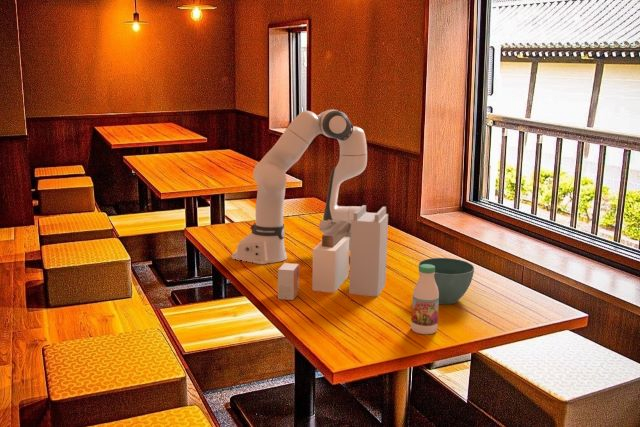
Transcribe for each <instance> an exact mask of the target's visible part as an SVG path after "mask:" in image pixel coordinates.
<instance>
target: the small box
mask: <svg viewBox="0 0 640 427" xmlns="http://www.w3.org/2000/svg"><path fill="white" fill-rule="evenodd" d="M299 277H300V264H299V263H289V262H283V263H282V265H281V266H280V267H279V268H278V269H277V300H288V301H294V300H295V298H296V297H297V296H298V294H299V293H300V290H299V289H300V279H299Z"/></svg>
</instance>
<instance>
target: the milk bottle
mask: <svg viewBox="0 0 640 427" xmlns="http://www.w3.org/2000/svg"><path fill="white" fill-rule="evenodd" d="M419 273H420V275H419V276H418V280H417V282H416V283H415V285H414V287H413V292H412V302H411V303H412V305H411V320H410V327H411V330H412V331H413V332H414V333H417V334H421V335H431V334H432V335H433V334H434V333H436V332H437V331H438V325H439V324H438V323H439V322H438V320H439V291H438V287H437V285H436V282H435V279H434V274H435V266H434V265H430V264H422V265H420V267H419V266H418V274H419Z"/></svg>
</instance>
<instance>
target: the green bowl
mask: <svg viewBox="0 0 640 427" xmlns="http://www.w3.org/2000/svg"><path fill="white" fill-rule="evenodd" d="M422 264H430V265H434V266H435V274H434V279H435V282H436V285H437V287H438V291H439V304H440V305H452V304H453V305H454V304H456V303H457V302H458V301H460V300H461V298H462V297H463V296H464V295H465V294H466V293H467V291H468V289H469V287H470V285H471V284H472V283H471V282H472V281H473V280H472V279H473V276H474V272H475V267H474V265H473V264H471V263H470V262H468V261H465V260H462V259H456V258H450V257H432V258H427V259H423V260H421V261H420V262H419V263H418V268H419V267H420V265H422ZM418 274H419V276H420V273H419V272H418Z"/></svg>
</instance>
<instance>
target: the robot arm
mask: <svg viewBox="0 0 640 427" xmlns="http://www.w3.org/2000/svg"><path fill="white" fill-rule="evenodd" d="M319 135H323V136H325V137H327V138H332V139H335V140H337V141H338V144H339V160H338V162H337V165H336V166H334V167H333V168H332V169H331V173H330V177H329V183H328V189H327V194H326V195H327V196H326V203H325V208H324V212H323V216H322V220H320V221H319V224H318V230H319V231H320V232H322V233H323V234H324V233H326V232H327V231H328V230H329V229H330V228H331V227H333V226H334V225H335V224H336V223H337V222H339V221H350V228H349V233H348V234H347V235H345V236H344V237H349V251H350V243H351V220H352V219H353V218H354V212H356V211H357V210H358V209H359V208H360V207H361V206H360V205H359V206H357V205H356V206H354V205H351V206H350V205H348V206H345V205H338V198H339V190H340V186H341V184H342V183H343V182H345V181H347V180H351V179H352V178H355V177H356V176H359V175H361V174H362V173H363V172H364V171H365V170H366V167H367V165H368V164H367V163H368V144H367V137H366V134H365V131H364V129H362V128H361V127H359V126H354V125H353V124H352V122H351V120H350V119H349V117H348V115H347V114H346V113H344V112H343V111H341V110H338V109H333V108H332V109H325V110H323V111H320V112H319V113H317V114H316V113H315V112H313V111H310V110H302V111H300V113H299V114H297V116H296V117H295V118H293V120H292V121H291V122H290V123H289V125H288V126H287V127H286V129H285V130H284V132H283V133H282V134H281V135H280V137H279V138H278V140H277V141H276V143H275V144H274V145H273V146H272V147H271V149H269V150H268V152H266V153H265V155H264V156H263V157H262V158H261V160H259V162H258V163H257V164H256V165H255V166H254V169H253V171H252V172H253V174H252V175H253V179H254V181H255V183H256V184H257V185H256V186H257V190H256V192H257V194H256V202H255V222H254V223H253V224H251V226H249V230H250V233H248V234H247V235H246V236H245V237H243V239H241V240H240V241H239V242H238V244H237V249H236V250H235V251H234V252H232V254H231V255H230V256H231V257H230V258H231V260H235V259H236V261H240V260H242V262H246V261H247V263H252V262H253V263H252V264H258V265H266V264H272V263H279V262H283V261H285V260H287V259H288V254H287V253H286V247H285V240H284V239H285V224H284V202H285V196H286V186H287V176H286V175H287V174H286V173H287V171H288V170H289V169H290V168H292V167H293V166H294V165H295V164H296V163H297V162H298V161H299V160H300V159H301V158H302V156H303V155H304V153H305V152H306V150H307V149H308V148H309V146H310V145H311V143H312V142H313V141H314V139H315V138H316V137H317V136H319ZM366 212H368V211H367V210H366Z"/></svg>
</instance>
